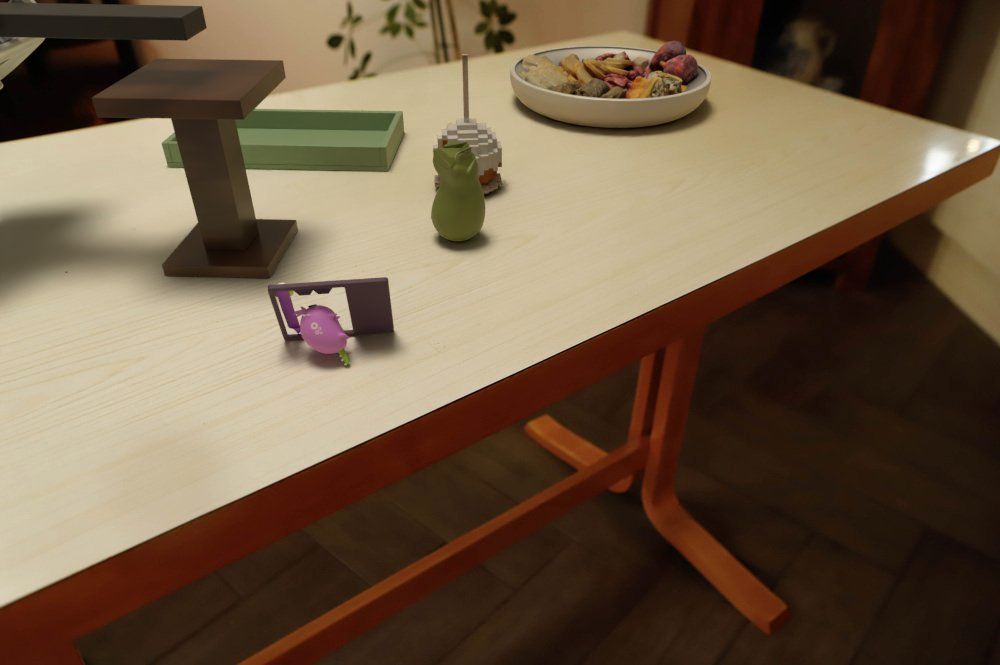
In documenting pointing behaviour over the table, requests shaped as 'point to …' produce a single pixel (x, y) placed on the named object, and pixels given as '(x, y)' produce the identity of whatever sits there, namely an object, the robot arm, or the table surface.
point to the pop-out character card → (322, 323)
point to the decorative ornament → (474, 141)
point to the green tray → (313, 140)
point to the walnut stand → (209, 157)
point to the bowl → (611, 84)
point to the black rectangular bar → (101, 21)
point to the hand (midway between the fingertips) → (10, 9)
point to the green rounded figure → (457, 193)
